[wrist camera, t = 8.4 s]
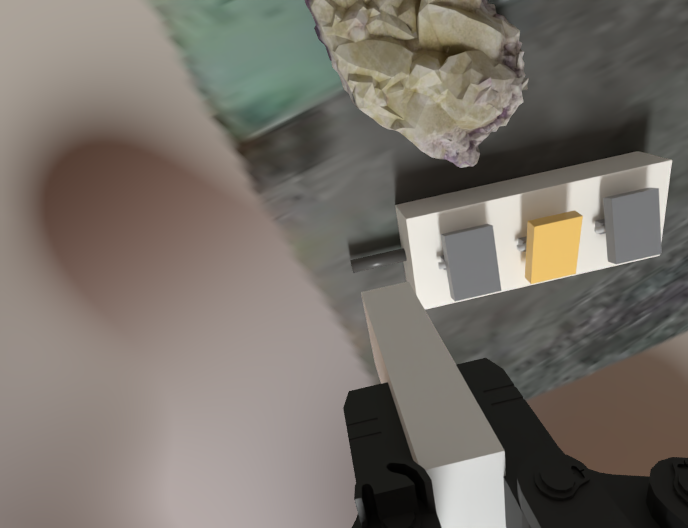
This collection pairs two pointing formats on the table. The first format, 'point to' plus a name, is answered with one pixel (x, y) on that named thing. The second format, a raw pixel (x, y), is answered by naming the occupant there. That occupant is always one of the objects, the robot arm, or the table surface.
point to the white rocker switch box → (517, 220)
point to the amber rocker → (552, 246)
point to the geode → (426, 68)
